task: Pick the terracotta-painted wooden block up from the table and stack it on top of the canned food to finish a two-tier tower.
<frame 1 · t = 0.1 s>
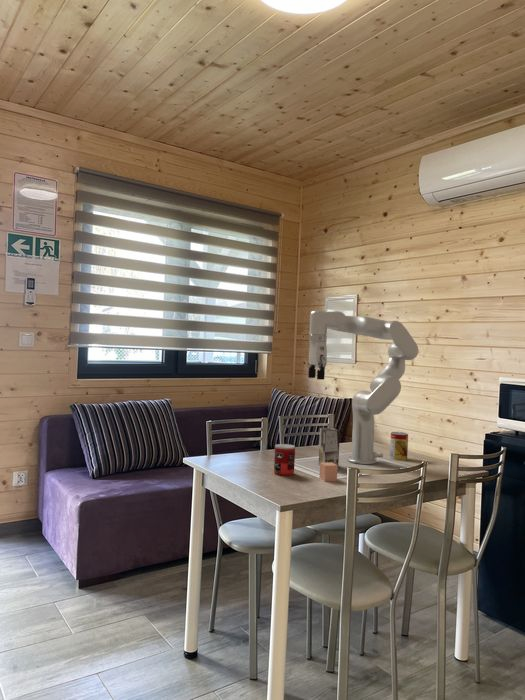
hand: (316, 378, 227), 37 cm above the table, tool pointing down, fingers open, 9 cm apart
coffee box: (328, 467, 221), on the table
canned food: (283, 474, 206), on the table
block: (328, 479, 199), on the table
canned food 2: (398, 459, 245), on the table
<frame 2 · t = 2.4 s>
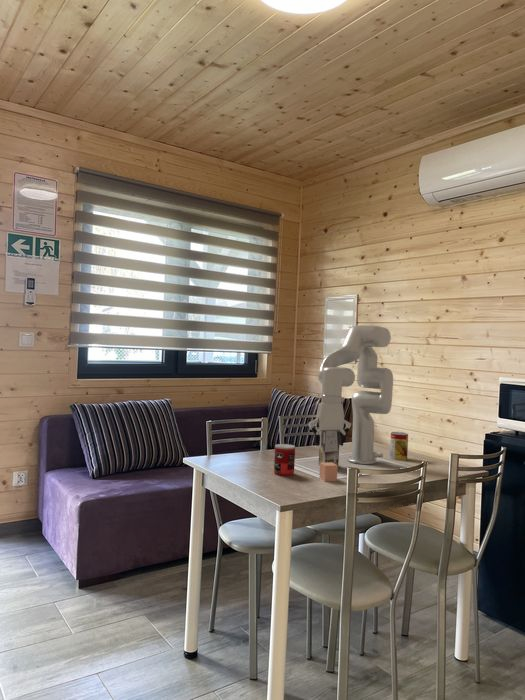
hand: (329, 445, 199), 13 cm above the table, tool pointing down, fingers open, 9 cm apart
nothing on the table moved.
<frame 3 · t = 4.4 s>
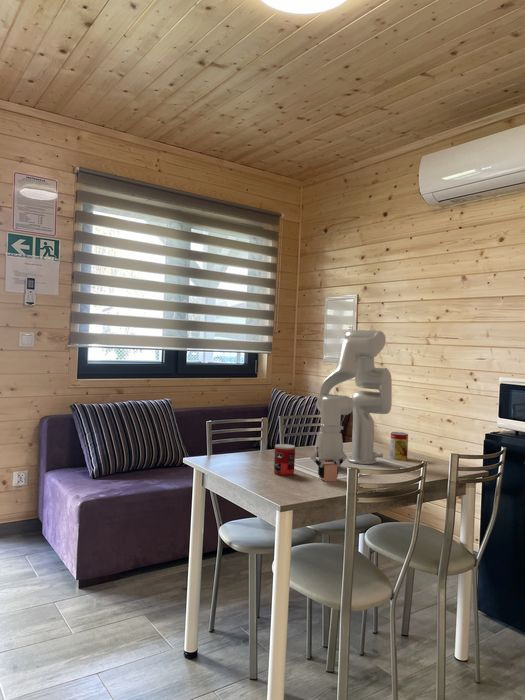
hand: (328, 476, 199), 1 cm above the table, tool pointing down, fingers closed on block, 5 cm apart
block: (328, 479, 199), on the table, touching gripper
everything else where it was.
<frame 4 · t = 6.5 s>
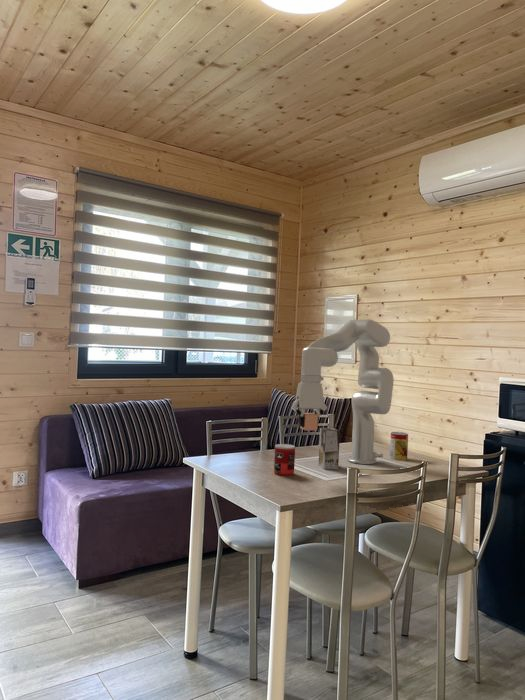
hand: (308, 426, 202), 20 cm above the table, tool pointing down, fingers closed on block, 5 cm apart
block: (308, 429, 202), point 18 cm above the table, touching gripper
everything else where it was.
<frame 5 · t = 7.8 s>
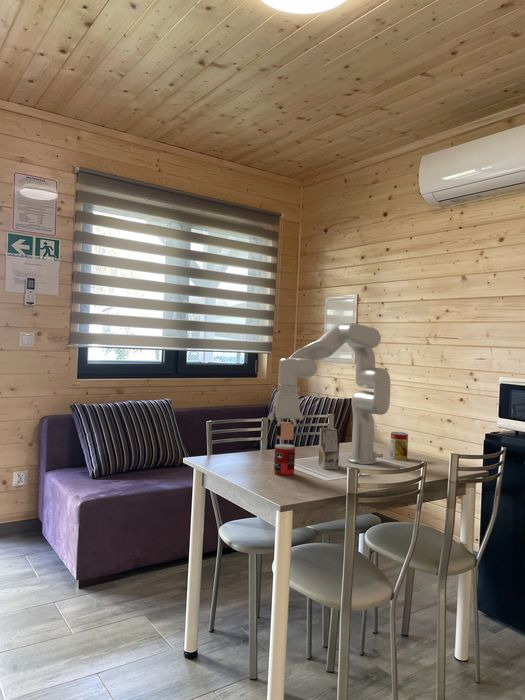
hand: (285, 435, 206), 15 cm above the table, tool pointing down, fingers closed on block, 5 cm apart
block: (285, 438, 206), point 14 cm above the table, touching gripper
everything else where it was.
when the fingers open (13 cm above the table, at t = 8.9 s): block stays where it is, resting on canned food.
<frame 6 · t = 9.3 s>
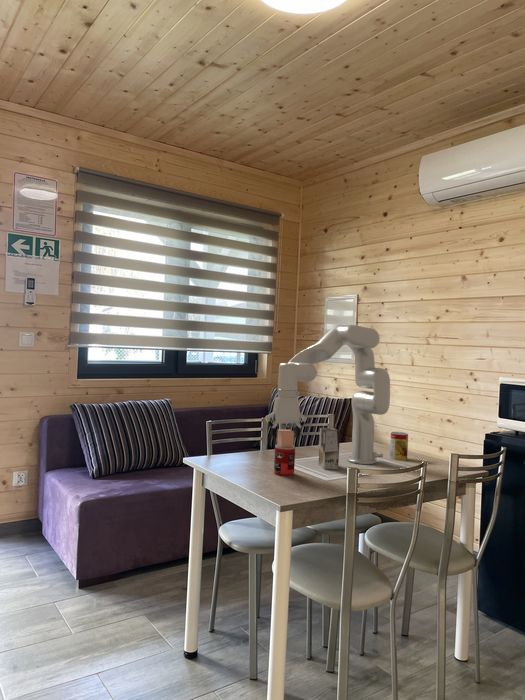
hand: (285, 437, 206), 14 cm above the table, tool pointing down, fingers open, 9 cm apart
canned food: (283, 474, 206), on the table, touching block
block: (285, 445, 206), point 11 cm above the table, touching canned food
everything else where it was.
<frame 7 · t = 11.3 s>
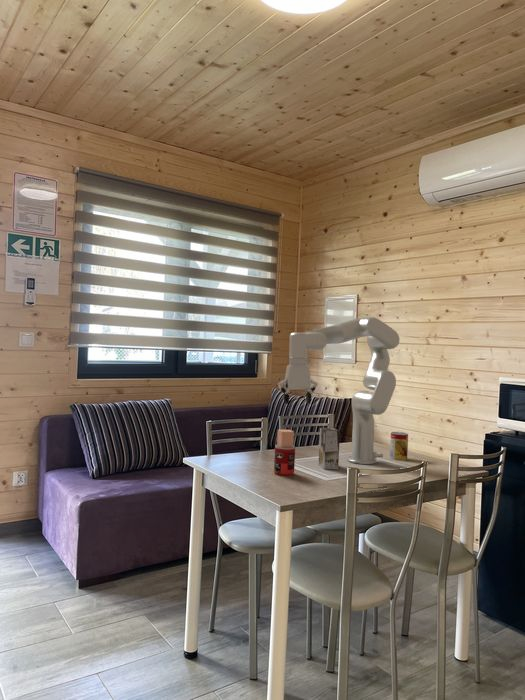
hand: (297, 403, 218), 27 cm above the table, tool pointing down, fingers open, 9 cm apart
nothing on the table moved.
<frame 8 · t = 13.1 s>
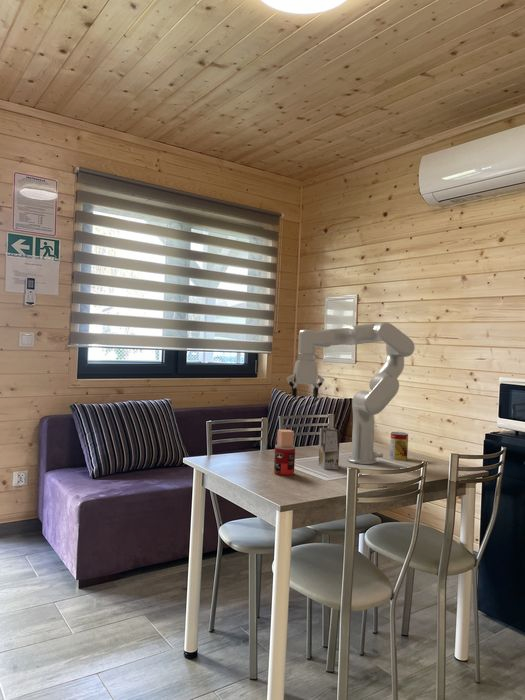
hand: (304, 397, 228), 28 cm above the table, tool pointing down, fingers open, 9 cm apart
nothing on the table moved.
at the end: block 0.0 cm off-centre on the canned food, point 11.2 cm above the canned food's base; canned food tilted 0°; the gripper is holding nothing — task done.
